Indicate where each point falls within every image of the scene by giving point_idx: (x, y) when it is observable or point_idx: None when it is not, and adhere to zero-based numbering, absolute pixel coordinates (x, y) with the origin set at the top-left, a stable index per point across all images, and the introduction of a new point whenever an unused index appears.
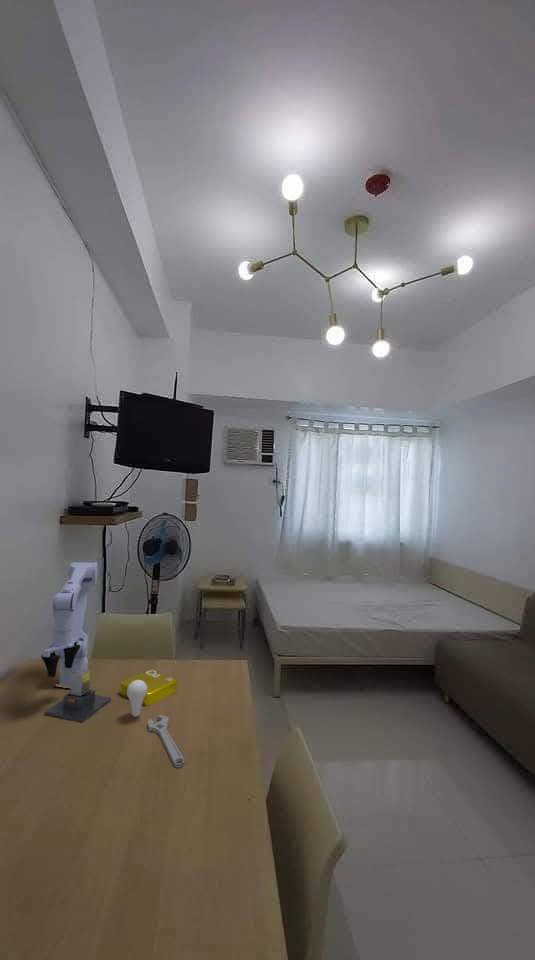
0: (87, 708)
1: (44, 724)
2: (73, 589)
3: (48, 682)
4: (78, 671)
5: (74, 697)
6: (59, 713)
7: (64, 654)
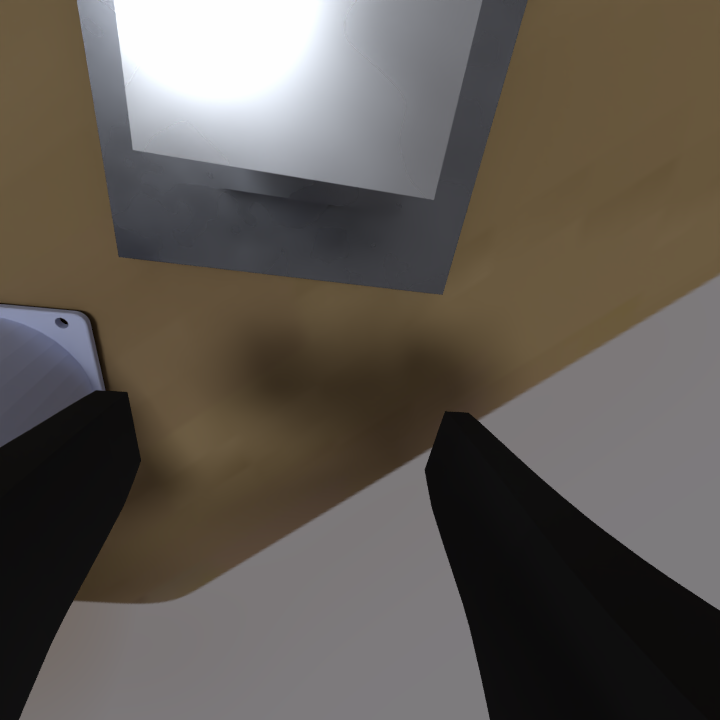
0: None
1: (548, 214)
2: None
3: None
4: (327, 67)
5: None
6: (467, 173)
7: (23, 706)
